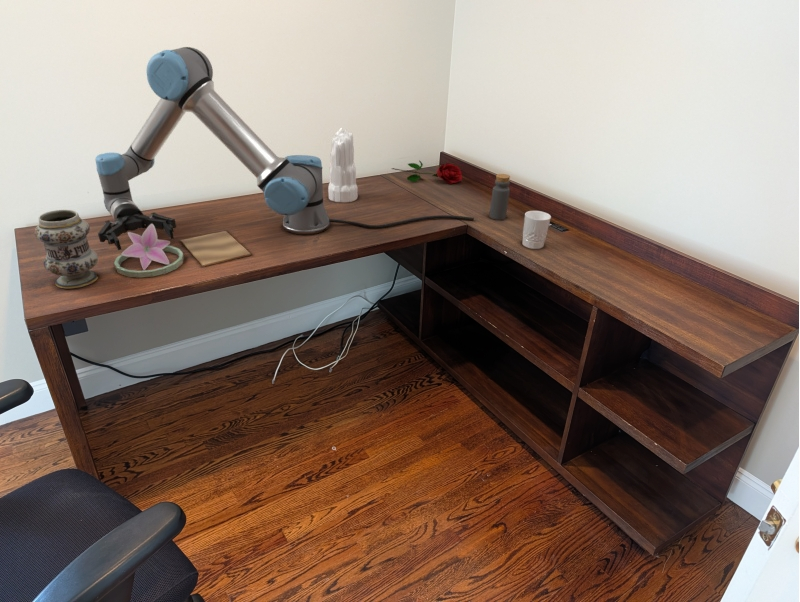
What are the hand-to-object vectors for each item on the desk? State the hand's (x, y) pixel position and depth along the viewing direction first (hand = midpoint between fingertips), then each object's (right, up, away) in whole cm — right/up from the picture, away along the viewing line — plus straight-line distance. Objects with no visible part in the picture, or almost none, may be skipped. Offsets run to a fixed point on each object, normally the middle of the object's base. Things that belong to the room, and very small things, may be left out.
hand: (145, 239), depth 144 cm
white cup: (+111, +1, +25) cm, 114 cm away
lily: (-1, -6, +5) cm, 8 cm away
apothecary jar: (-15, -11, -5) cm, 20 cm away
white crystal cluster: (+48, +22, +57) cm, 77 cm away
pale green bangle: (-1, -6, +5) cm, 8 cm away
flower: (+80, +33, +78) cm, 116 cm away
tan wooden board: (+14, -1, +14) cm, 20 cm away
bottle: (+104, +13, +45) cm, 114 cm away
